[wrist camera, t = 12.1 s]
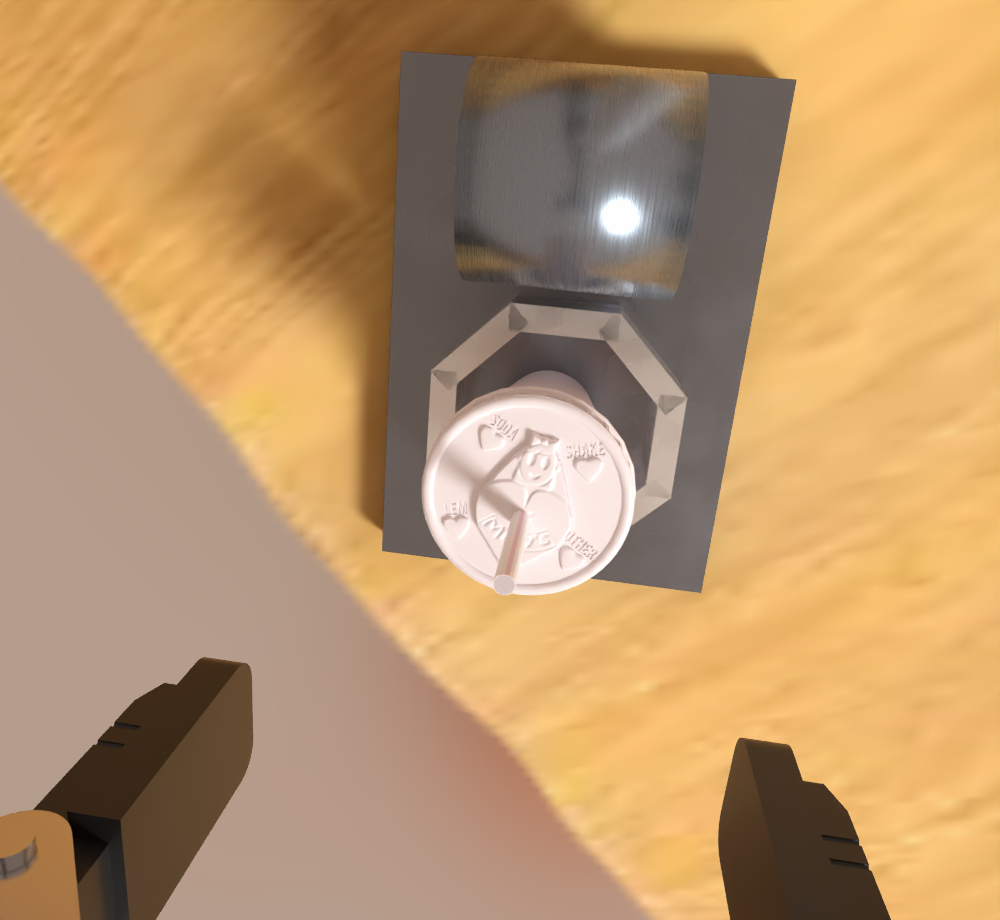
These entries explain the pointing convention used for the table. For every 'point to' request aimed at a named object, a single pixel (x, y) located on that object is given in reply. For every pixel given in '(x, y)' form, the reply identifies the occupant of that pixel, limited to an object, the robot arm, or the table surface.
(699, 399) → the flat grey tray
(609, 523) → the smoothie
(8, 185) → the table surface
